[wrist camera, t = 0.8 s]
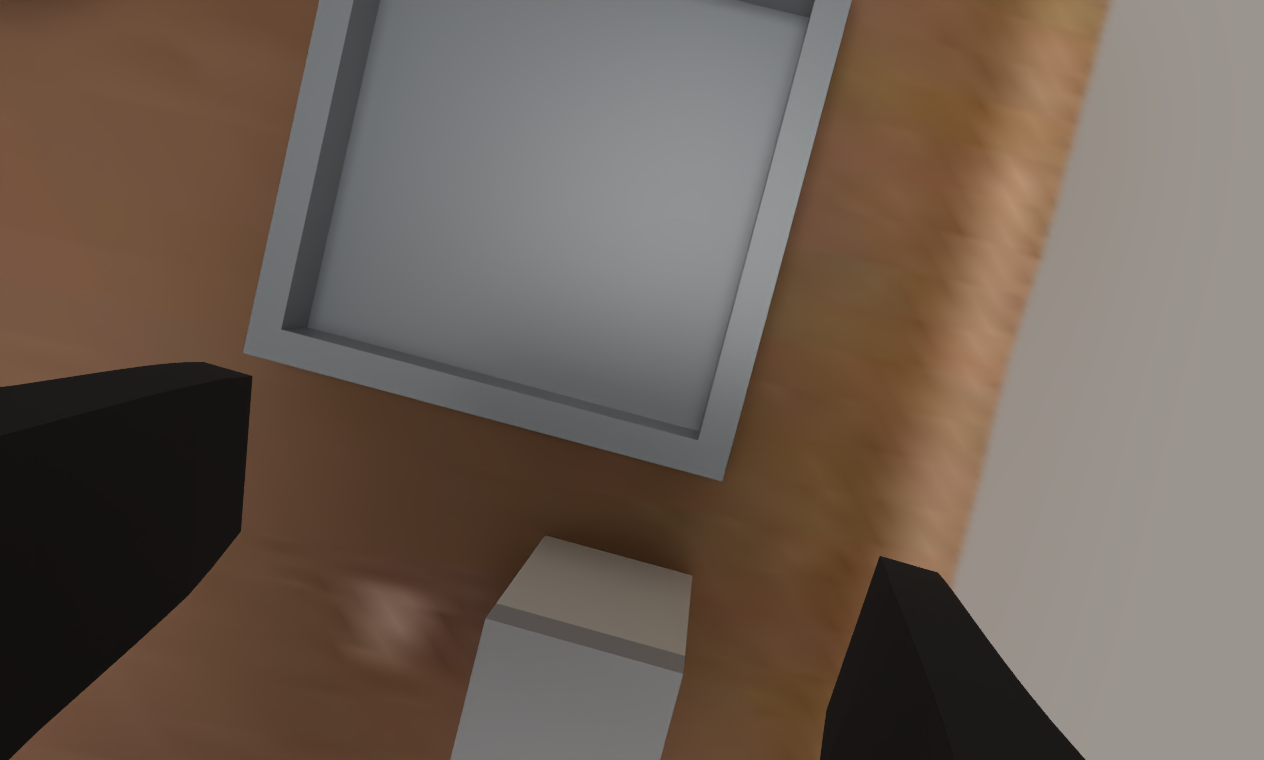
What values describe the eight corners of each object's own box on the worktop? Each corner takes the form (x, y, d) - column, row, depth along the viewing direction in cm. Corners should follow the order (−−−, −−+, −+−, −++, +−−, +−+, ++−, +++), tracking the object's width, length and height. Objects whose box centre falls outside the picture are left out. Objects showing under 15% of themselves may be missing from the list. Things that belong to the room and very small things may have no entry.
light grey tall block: (654, 718, 27) (632, 863, 20) (509, 677, 28) (438, 806, 21) (692, 575, 27) (683, 673, 20) (545, 535, 27) (485, 618, 20)
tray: (721, 465, 27) (722, 481, 24) (281, 348, 27) (243, 353, 25) (847, -1, 25) (859, -29, 23) (382, -112, 26) (351, -149, 24)
